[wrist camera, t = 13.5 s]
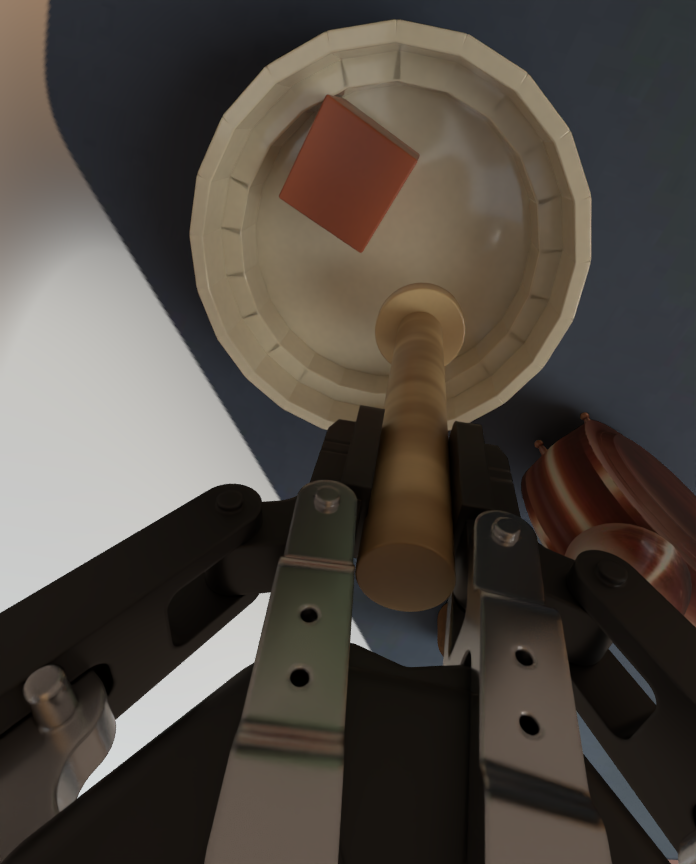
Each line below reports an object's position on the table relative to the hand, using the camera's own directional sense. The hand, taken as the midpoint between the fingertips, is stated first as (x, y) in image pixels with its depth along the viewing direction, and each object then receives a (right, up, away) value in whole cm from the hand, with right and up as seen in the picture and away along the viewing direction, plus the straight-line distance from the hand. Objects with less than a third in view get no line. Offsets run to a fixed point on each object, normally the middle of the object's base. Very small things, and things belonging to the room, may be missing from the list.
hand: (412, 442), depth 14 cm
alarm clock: (+13, -1, +15) cm, 20 cm away
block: (-1, +12, +8) cm, 15 cm away
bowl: (0, +9, +10) cm, 14 cm away
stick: (+1, +5, +8) cm, 10 cm away
